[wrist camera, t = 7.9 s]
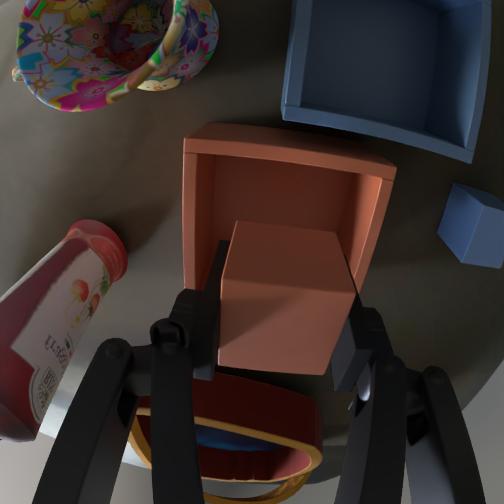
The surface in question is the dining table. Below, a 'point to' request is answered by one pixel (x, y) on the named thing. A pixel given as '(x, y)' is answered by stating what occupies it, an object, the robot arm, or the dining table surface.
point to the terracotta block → (282, 299)
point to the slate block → (474, 226)
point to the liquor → (51, 321)
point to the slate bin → (391, 69)
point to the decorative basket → (246, 435)
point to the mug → (111, 48)
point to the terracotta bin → (280, 190)
